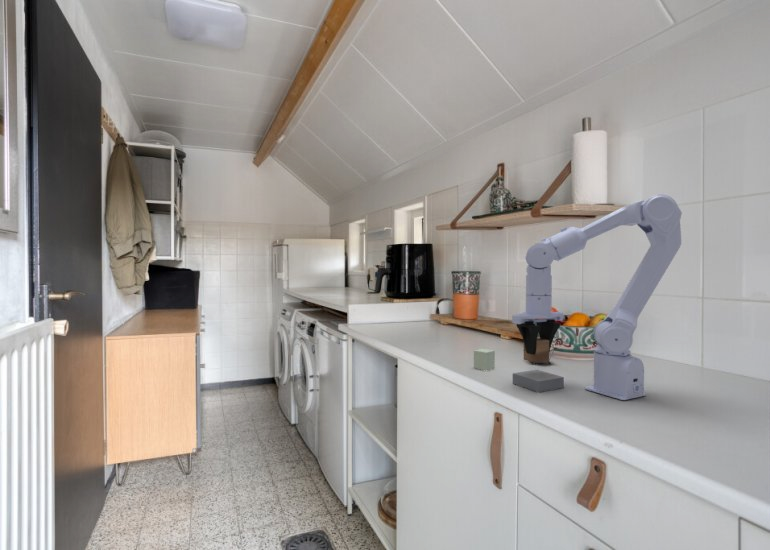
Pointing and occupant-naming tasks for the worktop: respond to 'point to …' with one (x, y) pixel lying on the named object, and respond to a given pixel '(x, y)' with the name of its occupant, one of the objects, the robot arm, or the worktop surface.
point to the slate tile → (538, 380)
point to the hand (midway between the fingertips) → (537, 352)
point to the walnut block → (539, 352)
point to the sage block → (484, 359)
